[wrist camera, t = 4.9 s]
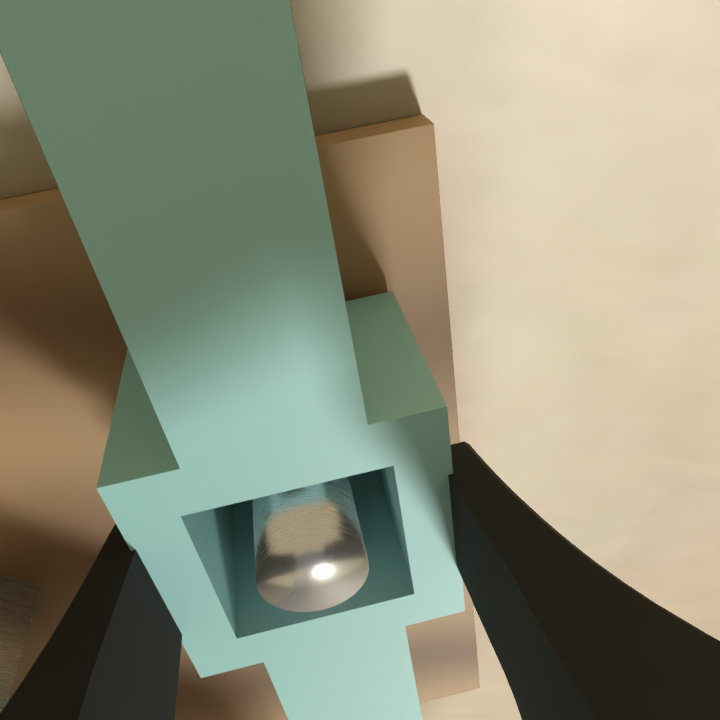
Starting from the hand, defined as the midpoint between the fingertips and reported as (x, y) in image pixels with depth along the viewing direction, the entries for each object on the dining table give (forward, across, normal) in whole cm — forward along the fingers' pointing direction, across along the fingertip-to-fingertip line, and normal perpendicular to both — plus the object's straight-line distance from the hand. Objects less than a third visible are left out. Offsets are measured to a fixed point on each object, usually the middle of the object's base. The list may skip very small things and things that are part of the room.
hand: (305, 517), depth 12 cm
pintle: (+4, 0, 0) cm, 4 cm away
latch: (+3, 0, +1) cm, 3 cm away
